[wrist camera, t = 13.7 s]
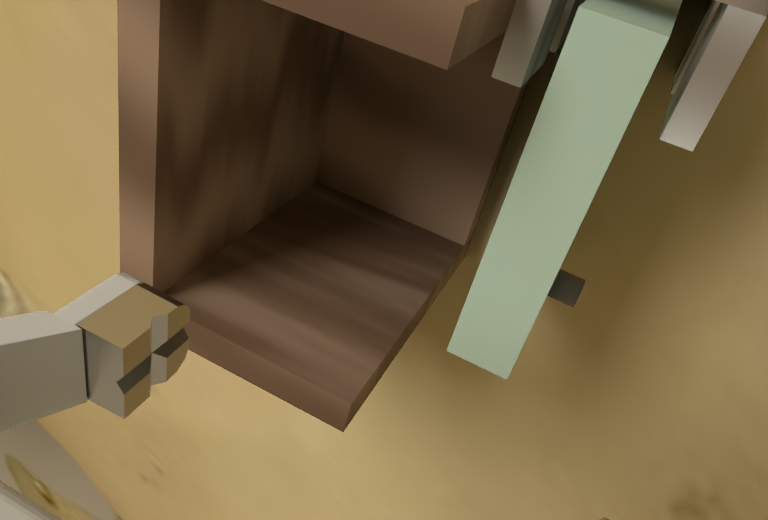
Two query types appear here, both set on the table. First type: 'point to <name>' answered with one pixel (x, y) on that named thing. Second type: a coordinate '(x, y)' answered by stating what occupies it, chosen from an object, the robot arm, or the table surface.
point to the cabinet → (336, 164)
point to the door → (560, 175)
